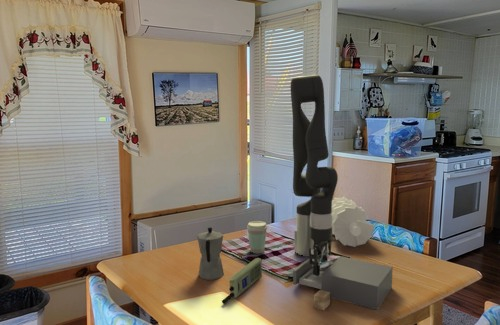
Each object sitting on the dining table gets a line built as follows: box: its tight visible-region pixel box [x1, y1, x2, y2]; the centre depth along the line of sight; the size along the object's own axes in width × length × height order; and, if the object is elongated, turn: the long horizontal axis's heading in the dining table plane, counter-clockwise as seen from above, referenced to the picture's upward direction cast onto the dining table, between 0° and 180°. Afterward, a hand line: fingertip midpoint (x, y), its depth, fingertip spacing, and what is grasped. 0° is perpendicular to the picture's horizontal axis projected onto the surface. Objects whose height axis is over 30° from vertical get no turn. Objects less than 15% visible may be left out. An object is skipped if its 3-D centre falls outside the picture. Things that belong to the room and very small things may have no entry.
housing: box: [321, 256, 393, 311], centre depth 134 cm, size 18×17×8 cm
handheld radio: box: [221, 257, 263, 305], centre depth 138 cm, size 7×3×25 cm
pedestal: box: [313, 289, 331, 311], centre depth 125 cm, size 3×4×4 cm
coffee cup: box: [246, 220, 268, 254], centre depth 172 cm, size 8×9×12 cm
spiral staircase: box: [332, 196, 376, 248], centre depth 184 cm, size 18×18×25 cm
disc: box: [312, 259, 330, 271], centre depth 141 cm, size 6×6×2 cm
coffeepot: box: [196, 226, 225, 281], centre depth 147 cm, size 15×9×18 cm, turn 0°
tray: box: [292, 254, 324, 290], centre depth 140 cm, size 18×18×5 cm
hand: (320, 271), depth 141 cm, fingers closed on disc, 6 cm apart
